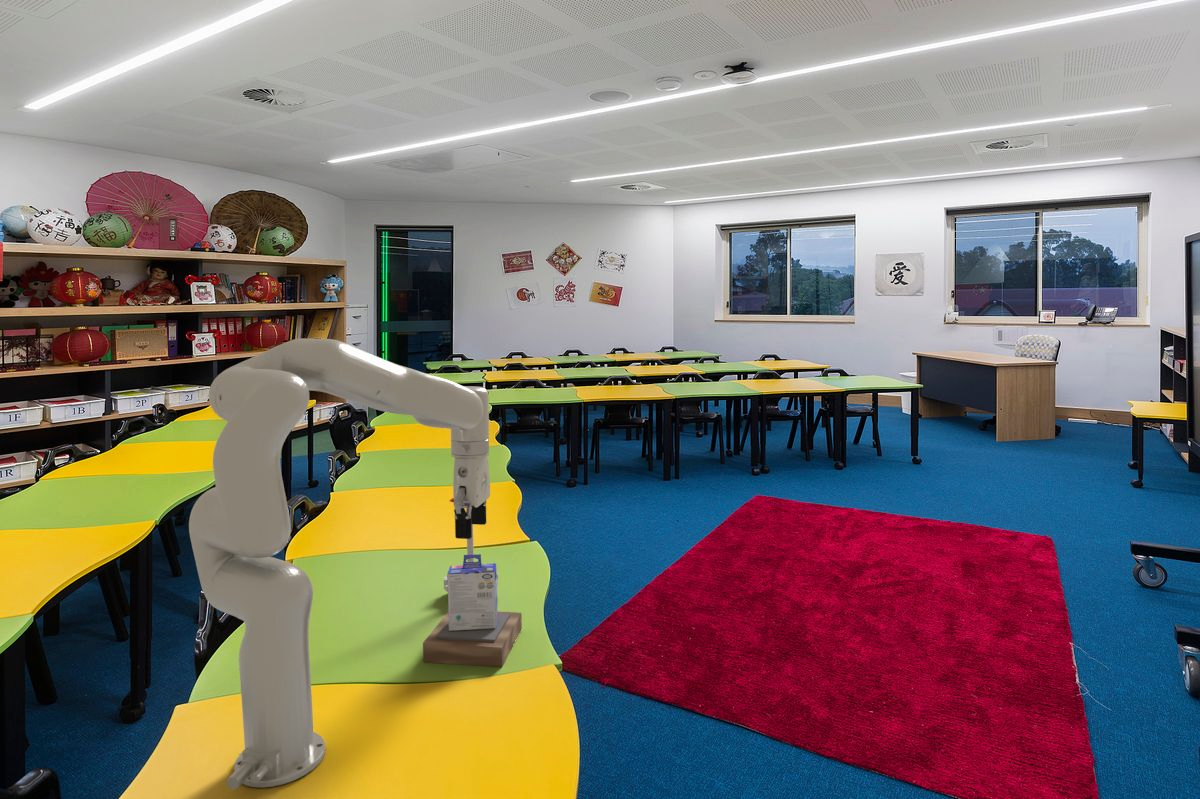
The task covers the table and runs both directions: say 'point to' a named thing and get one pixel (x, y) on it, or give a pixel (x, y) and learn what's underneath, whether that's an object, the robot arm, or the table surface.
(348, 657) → the table surface
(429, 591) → the table surface
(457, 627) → the ink cartridge box
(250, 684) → the robot arm
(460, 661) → the walnut plinth
